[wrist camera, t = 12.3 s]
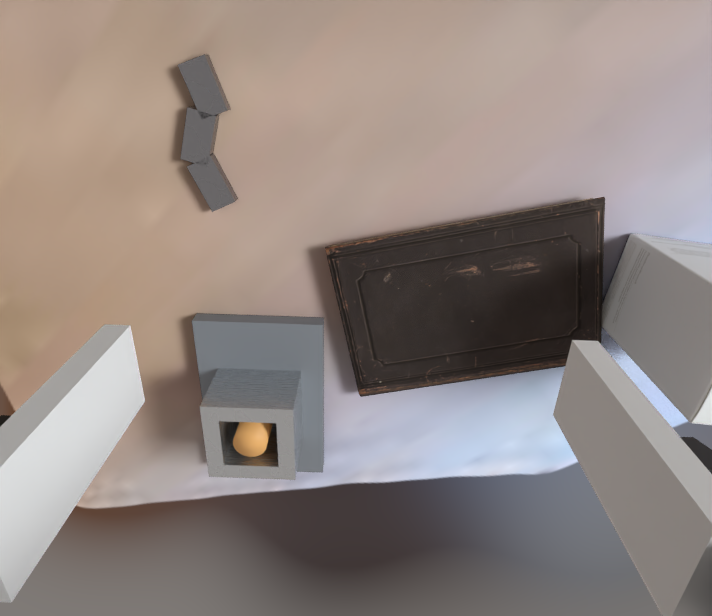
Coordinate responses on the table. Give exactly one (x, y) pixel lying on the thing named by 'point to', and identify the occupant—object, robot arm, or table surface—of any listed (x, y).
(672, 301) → the supplement box
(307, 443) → the keeper
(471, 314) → the hardcover book
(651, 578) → the robot arm
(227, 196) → the chain tail
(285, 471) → the square tube segment
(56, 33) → the table surface
